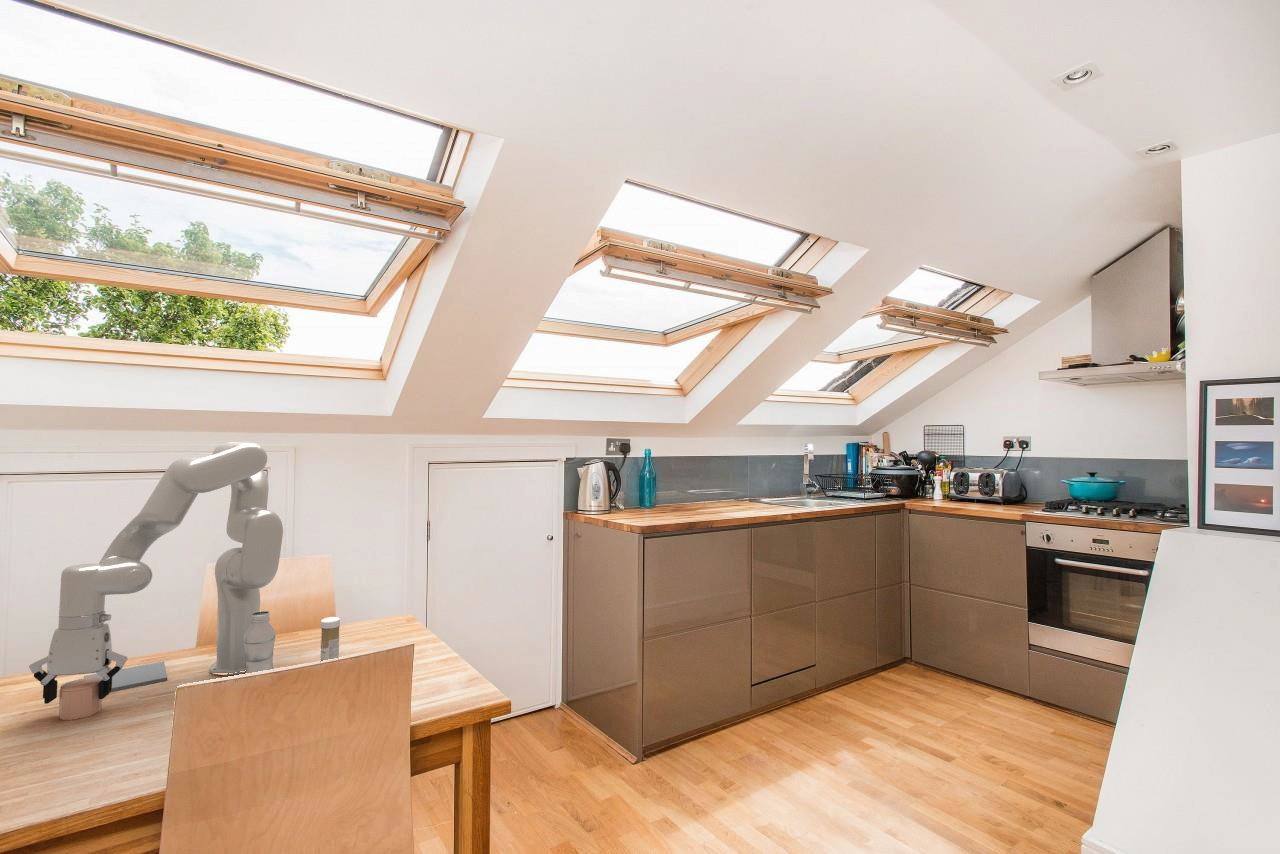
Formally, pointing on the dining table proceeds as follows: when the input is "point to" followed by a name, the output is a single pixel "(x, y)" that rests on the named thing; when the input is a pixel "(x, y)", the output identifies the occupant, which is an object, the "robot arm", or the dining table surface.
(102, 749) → the dining table surface
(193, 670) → the dining table surface
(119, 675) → the slate mat
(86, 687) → the peach domed cylinder
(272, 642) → the plastic bottle
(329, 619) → the sprinkles bottle
